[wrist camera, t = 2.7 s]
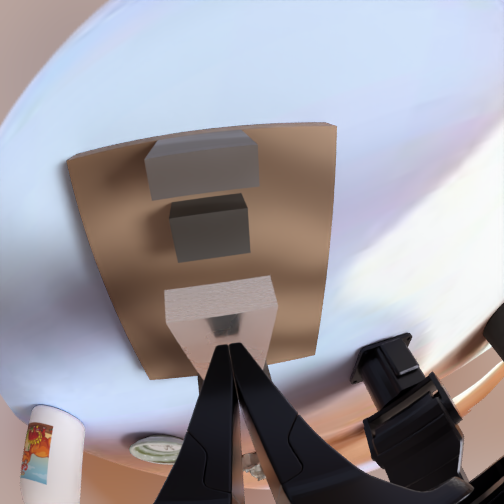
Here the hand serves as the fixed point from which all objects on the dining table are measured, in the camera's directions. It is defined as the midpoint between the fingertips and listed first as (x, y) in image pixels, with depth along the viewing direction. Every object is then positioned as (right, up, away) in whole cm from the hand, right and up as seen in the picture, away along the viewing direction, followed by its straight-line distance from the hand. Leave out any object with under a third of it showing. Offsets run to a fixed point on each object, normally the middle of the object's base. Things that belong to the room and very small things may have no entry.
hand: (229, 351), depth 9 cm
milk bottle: (-24, -18, +18) cm, 35 cm away
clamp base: (-2, +2, +10) cm, 10 cm away
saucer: (-11, -22, +23) cm, 34 cm away
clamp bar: (0, -2, +5) cm, 6 cm away
